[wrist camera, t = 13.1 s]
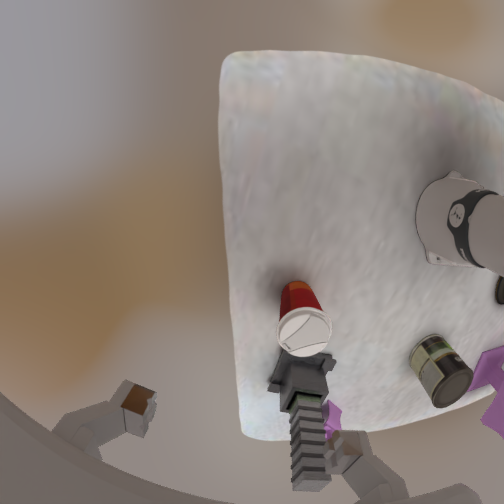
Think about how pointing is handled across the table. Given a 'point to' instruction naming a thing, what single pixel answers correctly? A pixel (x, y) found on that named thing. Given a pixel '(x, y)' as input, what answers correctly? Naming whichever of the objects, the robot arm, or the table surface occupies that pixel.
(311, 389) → the stand
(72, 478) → the robot arm
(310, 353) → the paper cup
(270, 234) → the table surface
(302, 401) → the column
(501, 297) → the apothecary jar
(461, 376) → the coffee can
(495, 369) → the purple pedestal armchair
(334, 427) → the toy chair
